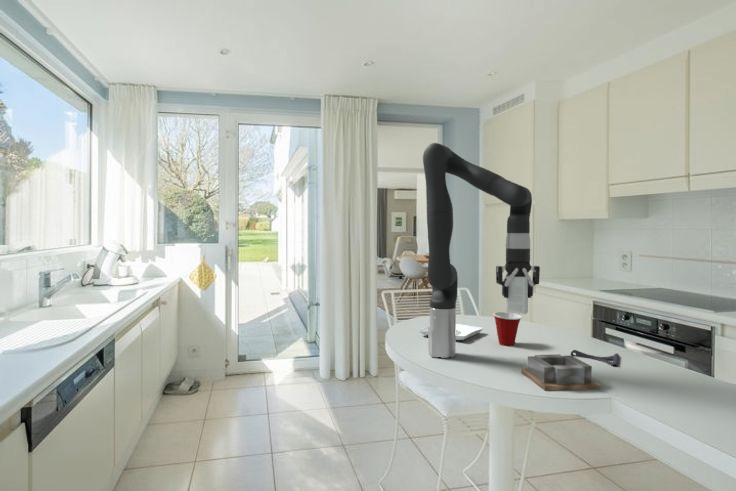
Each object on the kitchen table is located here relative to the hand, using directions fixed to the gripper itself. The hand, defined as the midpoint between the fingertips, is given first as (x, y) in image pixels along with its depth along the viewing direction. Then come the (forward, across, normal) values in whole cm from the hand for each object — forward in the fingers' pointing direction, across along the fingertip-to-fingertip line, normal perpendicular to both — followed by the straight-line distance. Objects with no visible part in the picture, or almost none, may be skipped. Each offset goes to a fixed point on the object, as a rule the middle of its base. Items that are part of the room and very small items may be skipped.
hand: (517, 297), depth 142 cm
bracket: (+24, +31, +7) cm, 40 cm away
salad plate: (+24, -10, +45) cm, 52 cm away
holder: (+23, +7, -14) cm, 27 cm away
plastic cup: (+23, +8, +28) cm, 37 cm away
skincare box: (+5, 0, 0) cm, 5 cm away
